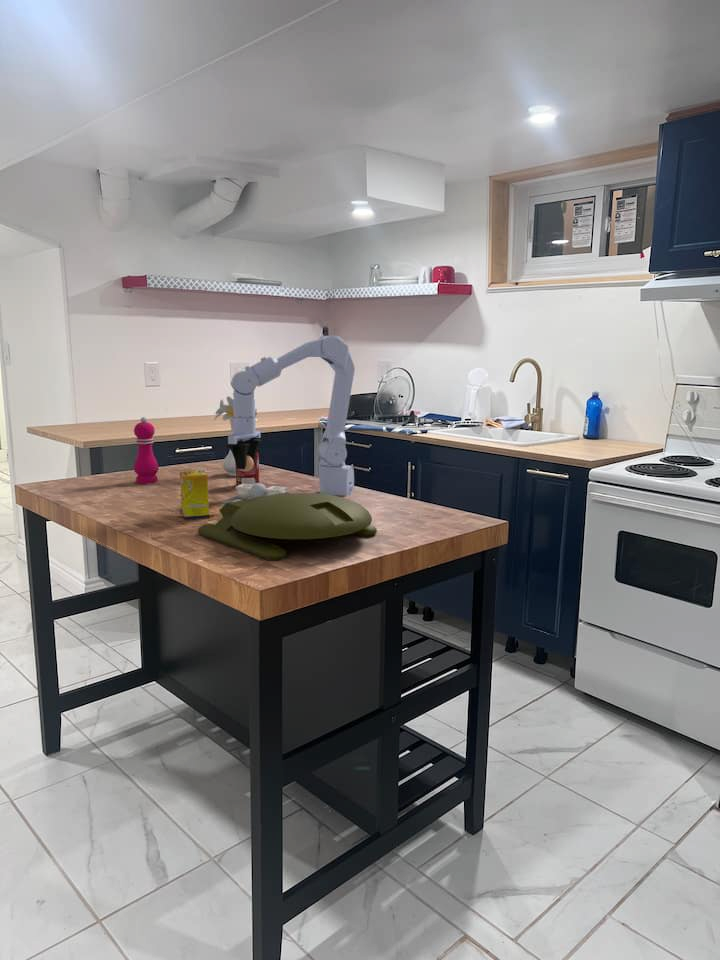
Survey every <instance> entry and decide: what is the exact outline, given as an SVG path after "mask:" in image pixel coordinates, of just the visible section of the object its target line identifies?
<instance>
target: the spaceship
mask: <svg viewBox="0 0 720 960" xmlns="http://www.w3.org/2000/svg"><path fill="white" fill-rule="evenodd" d="M218 511H219V513H220V514H221V515H222V518H221V519H219V520H218V521H217V522H215V524H214V523H205V524H202V525H201V526H199V527H198V529H197V533H198V534H199V535H200V534H201V535H200V536H202V535H203V537H205V536H206V538H208V539H210V538H211V539H210V540H213V539H214V540H213V541H215V542H218V541H219V542H218V543H221V542H222V543H221V544H223V545H226V544H227V545H226V546H229V545H230V546H229V547H232V548H234V547H235V549H237V548H238V549H237V550H239V549H240V551H242V550H243V551H242V552H245V551H246V552H245V553H247V552H248V554H250V553H251V554H250V555H253V554H254V555H253V556H255V555H256V556H255V557H258V556H259V557H258V558H261V559H263V558H264V559H263V560H266V559H269V560H268V561H277V559H279V560H282V559H284V558H285V557H286V555H287V552H286V550H285V549H284V548H283V547H281V546H278V545H276V544H272V543H269V542H266V541H264V540H261V539H258V538H255V537H252V536H256V537H261V538H267V539H268V538H269V539H277V540H278V539H279V540H280V539H281V540H314V539H326V538H335V537H340V536H346V535H350V534H352V535H355V536H359V537H365V538H366V537H372V536H373V537H374V536H375V535H376V534H377V533H378V530H377V528H376V527H375V526H373V525H372V521H373V518H372V515H371V514H370V512H369V510H368V509H366V508H365V507H364V506H363V505H361V504H360V503H357V502H355V501H353V500H351V499H349V498H345V497H342V496H339V495H329V494H320V493H318V492H286V491H285V493H280V494H274V495H268V496H263V497H257V498H251V499H246V500H240V501H234V502H229V503H224V505H223V506H221V508H220V509H219V510H218ZM233 529H235V530H237V531H235V530H233ZM238 531H239V532H238ZM247 534H248V535H247ZM249 535H251V536H249ZM283 557H284V558H283ZM281 558H282V559H281Z"/></svg>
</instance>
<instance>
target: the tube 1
mask: <svg viewBox="0 0 720 960" xmlns="http://www.w3.org/2000/svg"><path fill="white" fill-rule="evenodd" d="M252 486H253V485H252V484H241V485H239V486H236V485H235V490H236V491H237V492H236V493H237V494H236V495H237V497H238V498H240V499H248V498H250V497H252V496H251V493H250V490H251V487H252Z"/></svg>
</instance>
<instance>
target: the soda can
mask: <svg viewBox="0 0 720 960" xmlns="http://www.w3.org/2000/svg"><path fill="white" fill-rule="evenodd" d="M259 456H260V455H259V453H258V452H257V454H256V458H255V463H254V466H253V468H252V469H251V470H250V471H246V472H245V471H242V470H240V469H237V466H236V463H235V468H236V476H235V487H236V486H239V485H241V484H252V485H254V484H256V483H260V459H259Z"/></svg>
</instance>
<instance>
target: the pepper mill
mask: <svg viewBox="0 0 720 960" xmlns="http://www.w3.org/2000/svg"><path fill="white" fill-rule="evenodd" d="M147 420H148V419H147V418H146V416H142V417H140V422H138V423H136V425H135V426H134V428H133V433H134V436H136V439H135V440H136V442H135V443H136V444H137V447H138V451H137V453H138V454H137V457H136V460H134V461H135V462H134V464H133V465H134V466H133V471H134V472H135V474H136V475H137V476H136V477H135V478H136V480H135V481H136V484H138V483H140V485H149V484H148V483H153V484H155V482H157V481H159V480H158V479H159V477H158V476H157V475H156V474H157V473H158V472H159V469H160V468H159V463H158V461H157V459H156V457H155V455H154V452H153V443H154V438H153V437H154V435H155V433H156V432H155V431H156V430H155V429H156V428H155V427H154V425H153V424H152V423H150V422H147ZM157 483H158V482H157Z"/></svg>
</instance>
